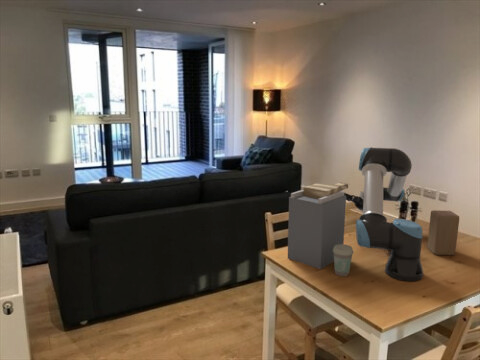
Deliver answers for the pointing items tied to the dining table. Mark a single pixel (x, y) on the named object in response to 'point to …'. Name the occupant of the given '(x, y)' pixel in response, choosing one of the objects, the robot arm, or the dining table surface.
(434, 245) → the wooden block
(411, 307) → the dining table surface
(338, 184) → the oak board
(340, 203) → the charcoal plinth
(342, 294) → the dining table surface
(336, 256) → the coffee cup
